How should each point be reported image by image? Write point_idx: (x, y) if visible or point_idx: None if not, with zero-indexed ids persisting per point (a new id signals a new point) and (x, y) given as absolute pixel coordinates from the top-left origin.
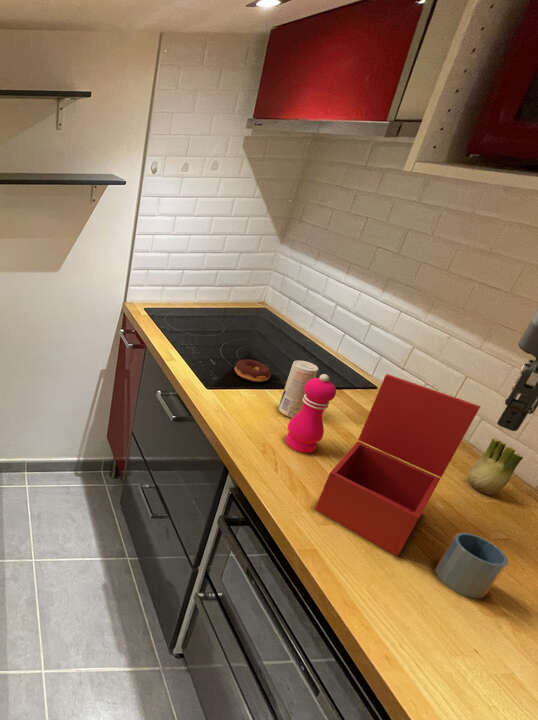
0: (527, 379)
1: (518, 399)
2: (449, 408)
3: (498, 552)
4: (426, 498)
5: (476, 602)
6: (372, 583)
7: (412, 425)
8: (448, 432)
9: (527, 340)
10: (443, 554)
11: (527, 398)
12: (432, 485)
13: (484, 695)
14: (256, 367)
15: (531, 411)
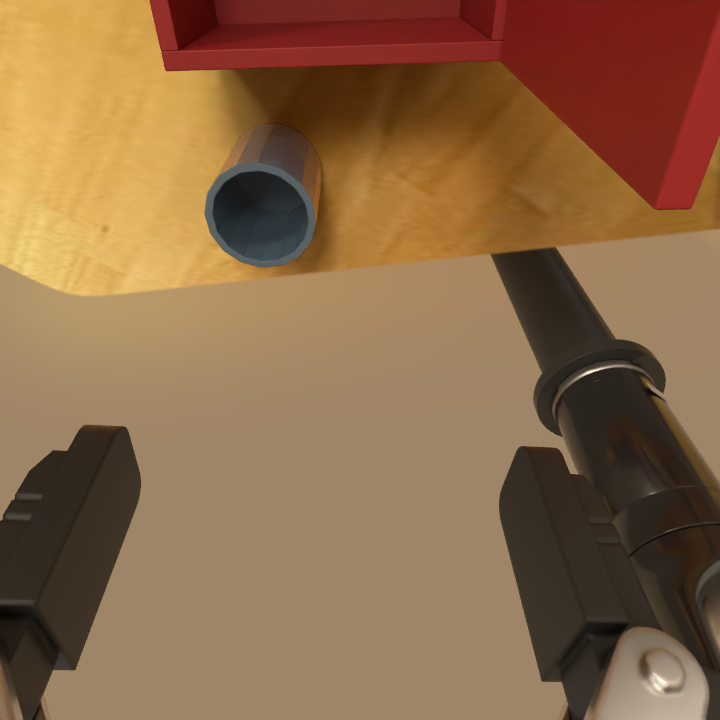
0: None
1: (548, 509)
2: (664, 7)
3: (297, 245)
4: (314, 57)
5: None
6: (39, 22)
7: None
8: (576, 46)
9: None
10: (269, 135)
11: (545, 568)
12: (425, 51)
13: (23, 254)
14: None
15: (505, 516)
